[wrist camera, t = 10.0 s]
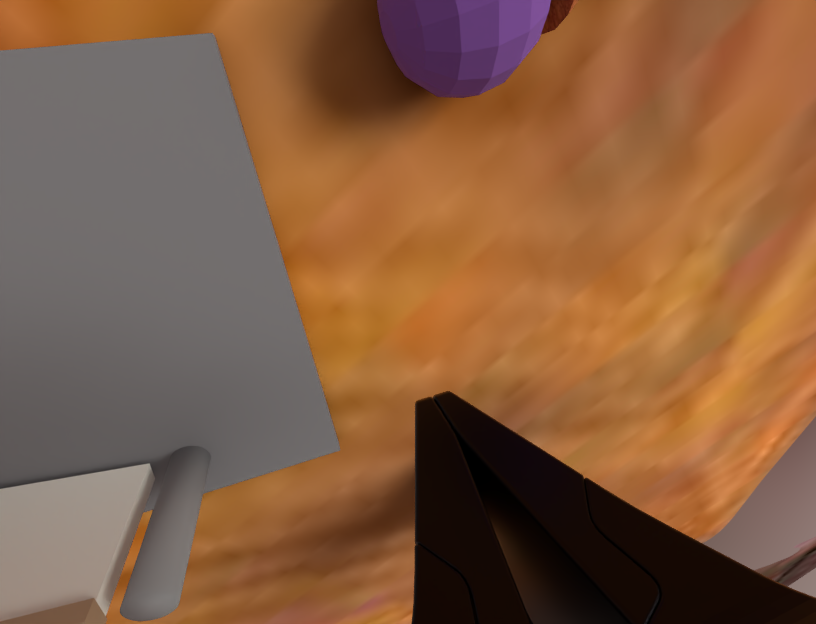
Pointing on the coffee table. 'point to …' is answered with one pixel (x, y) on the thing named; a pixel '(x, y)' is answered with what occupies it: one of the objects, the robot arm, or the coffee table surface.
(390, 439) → the coffee table surface
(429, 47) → the kendama
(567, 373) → the coffee table surface
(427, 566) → the robot arm
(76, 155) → the flat gray base plate
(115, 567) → the gate
